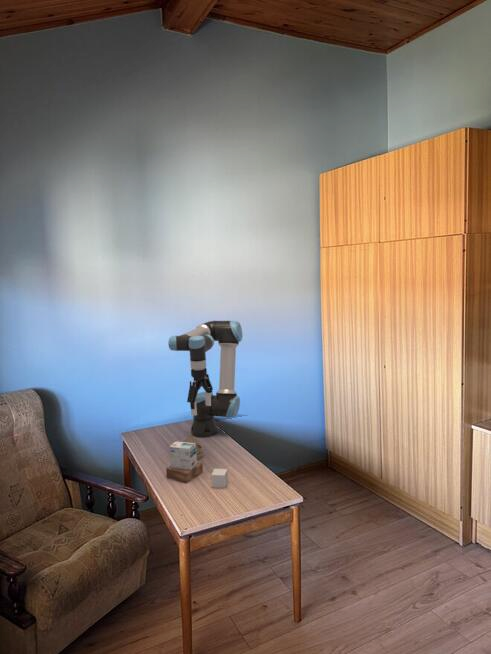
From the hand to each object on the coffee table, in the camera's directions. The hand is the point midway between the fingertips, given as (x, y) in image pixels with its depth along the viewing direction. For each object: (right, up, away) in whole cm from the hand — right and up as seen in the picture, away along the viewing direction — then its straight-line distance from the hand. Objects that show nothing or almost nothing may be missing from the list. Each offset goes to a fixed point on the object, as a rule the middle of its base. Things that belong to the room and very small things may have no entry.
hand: (201, 410), depth 245 cm
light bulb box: (-7, -25, -10) cm, 28 cm away
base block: (-7, -29, -9) cm, 32 cm away
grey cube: (+10, -30, -20) cm, 37 cm away
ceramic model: (-5, -26, +13) cm, 29 cm away
